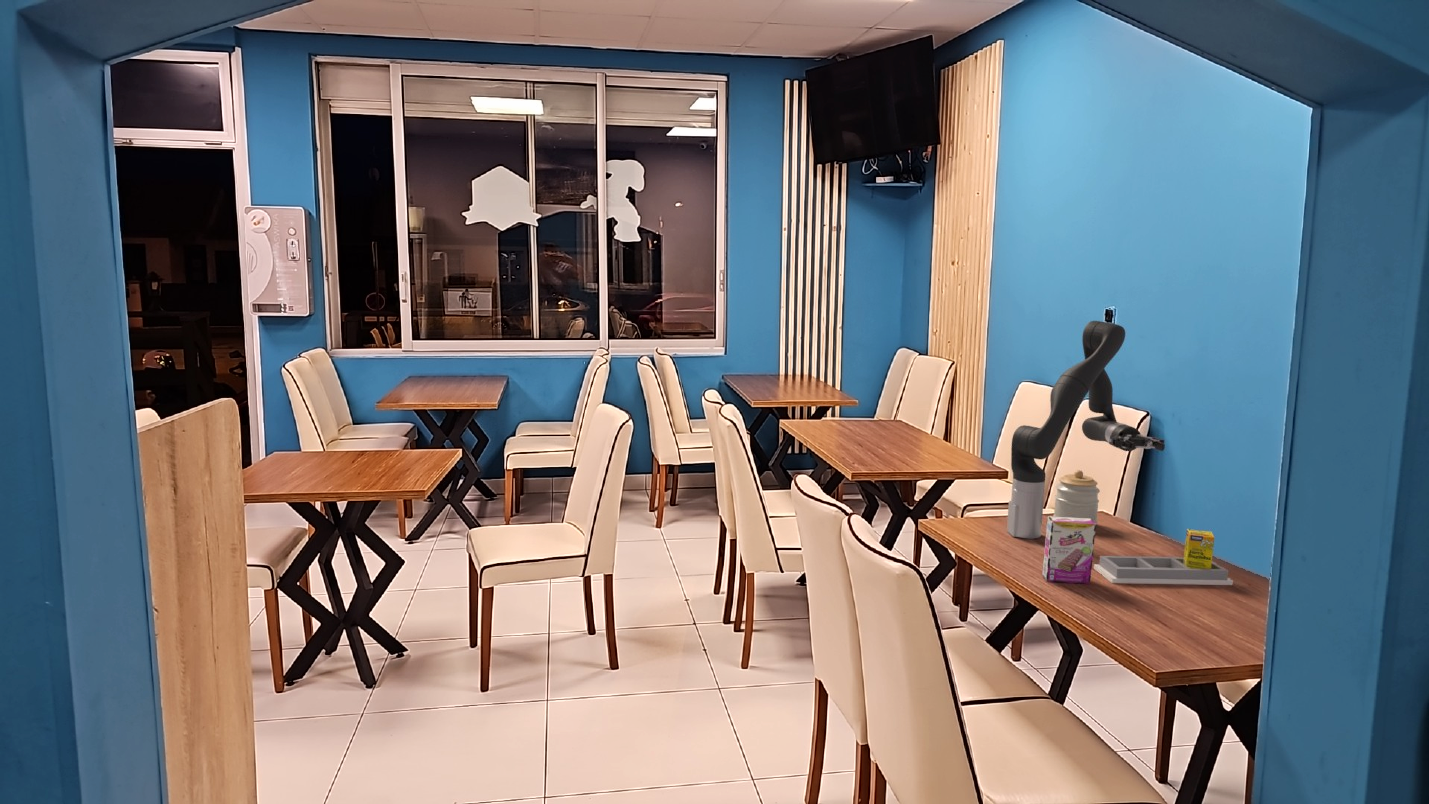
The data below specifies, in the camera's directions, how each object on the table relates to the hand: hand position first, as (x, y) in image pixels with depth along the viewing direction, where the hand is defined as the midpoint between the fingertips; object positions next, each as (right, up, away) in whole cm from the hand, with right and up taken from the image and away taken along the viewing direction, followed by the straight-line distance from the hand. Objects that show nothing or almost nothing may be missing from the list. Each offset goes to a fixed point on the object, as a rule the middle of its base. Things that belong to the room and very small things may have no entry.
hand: (1147, 446), depth 257 cm
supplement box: (+3, -32, -21) cm, 39 cm away
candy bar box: (-33, -34, -25) cm, 54 cm away
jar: (-10, -26, +26) cm, 39 cm away
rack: (-7, -33, -21) cm, 40 cm away
